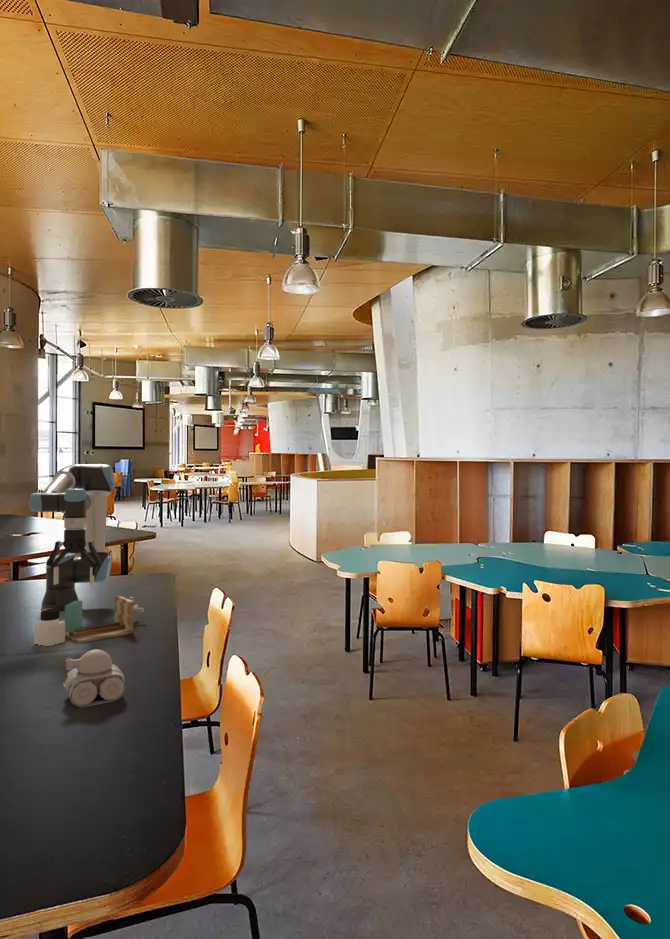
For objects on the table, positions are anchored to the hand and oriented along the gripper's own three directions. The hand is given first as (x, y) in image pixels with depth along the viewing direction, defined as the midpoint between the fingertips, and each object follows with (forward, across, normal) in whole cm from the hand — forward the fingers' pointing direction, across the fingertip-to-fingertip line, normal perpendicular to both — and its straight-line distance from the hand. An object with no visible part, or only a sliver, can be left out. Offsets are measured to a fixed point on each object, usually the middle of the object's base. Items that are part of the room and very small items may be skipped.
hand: (74, 584), depth 223 cm
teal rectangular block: (+17, 0, 0) cm, 17 cm away
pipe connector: (+18, +19, +11) cm, 28 cm away
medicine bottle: (+18, -1, -18) cm, 25 cm away
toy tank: (+18, +32, -68) cm, 77 cm away
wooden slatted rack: (+17, +12, -6) cm, 22 cm away
